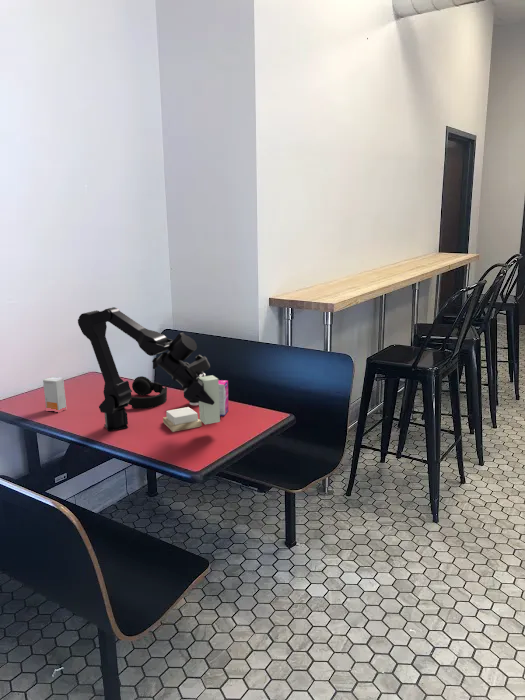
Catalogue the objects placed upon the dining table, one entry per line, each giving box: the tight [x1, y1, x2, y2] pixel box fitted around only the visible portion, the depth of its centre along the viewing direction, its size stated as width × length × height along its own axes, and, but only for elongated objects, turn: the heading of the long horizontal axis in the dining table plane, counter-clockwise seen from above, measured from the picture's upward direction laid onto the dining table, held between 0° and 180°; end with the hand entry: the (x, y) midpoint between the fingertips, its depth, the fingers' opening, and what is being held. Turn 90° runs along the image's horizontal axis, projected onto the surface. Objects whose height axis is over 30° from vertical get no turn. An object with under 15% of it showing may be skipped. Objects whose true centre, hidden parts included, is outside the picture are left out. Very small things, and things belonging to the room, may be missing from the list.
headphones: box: [128, 375, 168, 410], centre depth 221 cm, size 18×8×20 cm
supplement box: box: [218, 379, 229, 417], centre depth 204 cm, size 6×6×12 cm
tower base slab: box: [162, 416, 203, 433], centre depth 195 cm, size 10×10×2 cm
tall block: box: [198, 374, 221, 425], centre depth 183 cm, size 5×5×14 cm
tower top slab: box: [165, 406, 199, 425], centre depth 194 cm, size 8×8×2 cm
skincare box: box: [42, 376, 67, 410], centre depth 212 cm, size 6×4×12 cm
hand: (213, 400), depth 184 cm, fingers closed on tall block, 6 cm apart
